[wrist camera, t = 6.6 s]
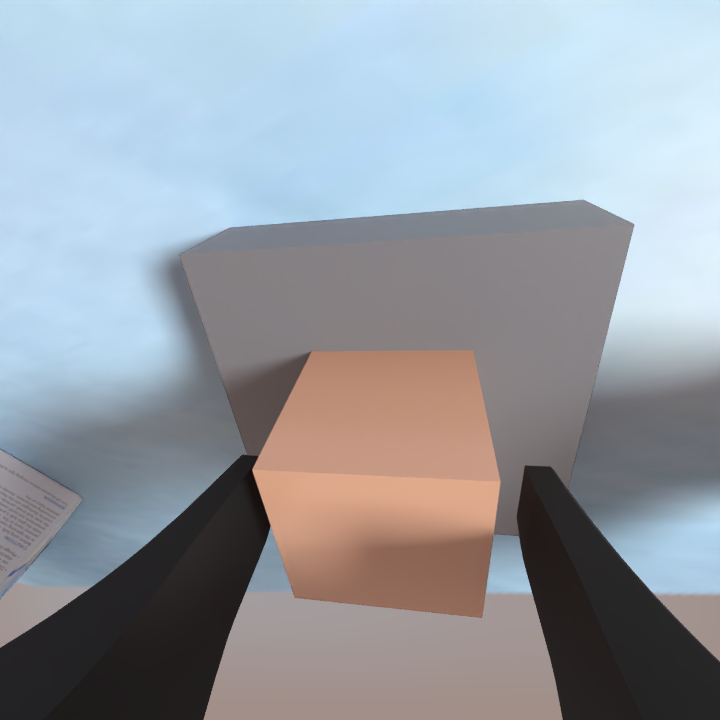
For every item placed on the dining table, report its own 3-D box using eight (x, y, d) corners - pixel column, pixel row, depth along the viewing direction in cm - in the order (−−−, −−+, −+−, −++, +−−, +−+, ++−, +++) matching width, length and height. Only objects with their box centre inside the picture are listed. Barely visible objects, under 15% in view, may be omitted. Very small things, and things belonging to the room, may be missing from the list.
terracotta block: (472, 349, 11) (500, 481, 7) (465, 469, 14) (482, 617, 10) (311, 351, 12) (252, 469, 8) (332, 463, 15) (294, 597, 11)
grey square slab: (578, 197, 12) (634, 224, 9) (532, 463, 19) (555, 538, 15) (236, 224, 15) (179, 254, 11) (295, 454, 21) (269, 519, 17)
